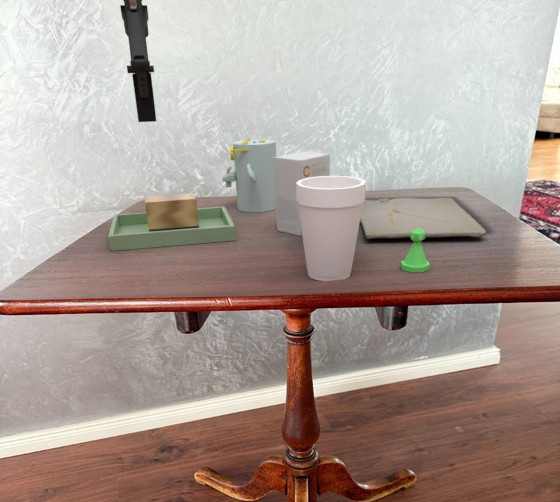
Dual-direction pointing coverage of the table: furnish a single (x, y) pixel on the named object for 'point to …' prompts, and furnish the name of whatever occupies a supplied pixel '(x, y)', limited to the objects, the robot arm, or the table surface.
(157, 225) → the eraser
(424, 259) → the game piece
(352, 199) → the foam cup
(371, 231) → the decorative slab
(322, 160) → the small box
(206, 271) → the table surface
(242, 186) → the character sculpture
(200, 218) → the tray
